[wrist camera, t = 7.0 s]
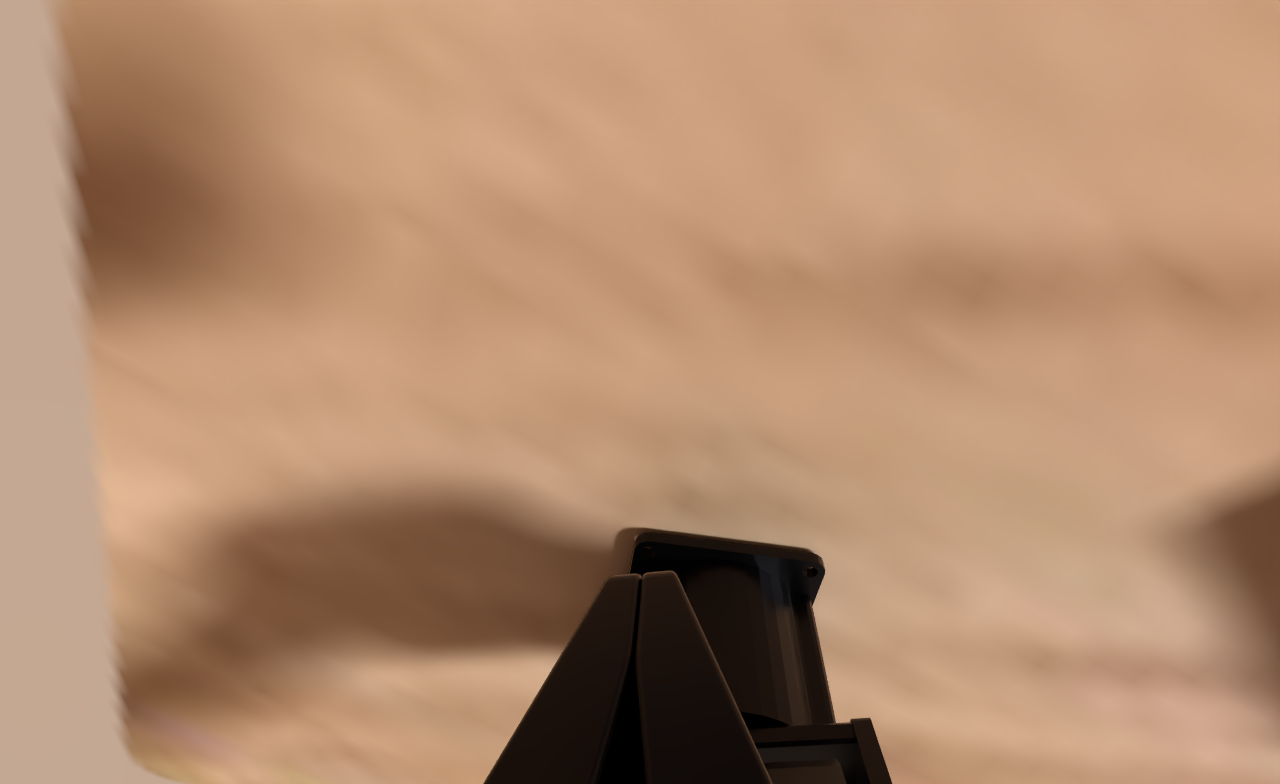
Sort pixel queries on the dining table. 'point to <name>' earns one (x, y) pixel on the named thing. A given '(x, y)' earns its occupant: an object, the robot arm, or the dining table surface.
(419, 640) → the dining table surface
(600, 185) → the dining table surface
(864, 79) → the dining table surface
